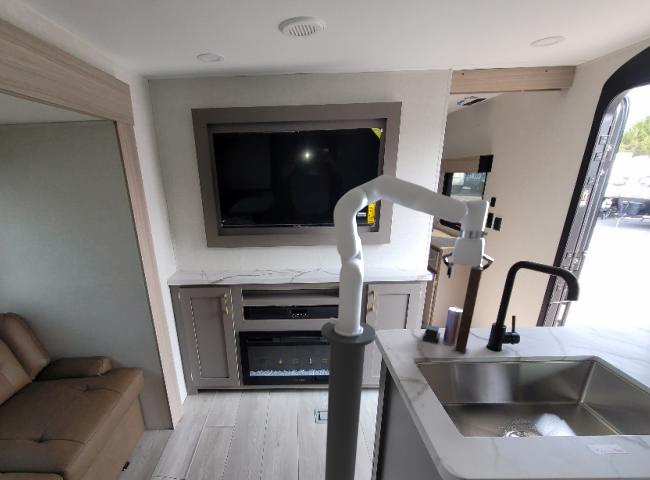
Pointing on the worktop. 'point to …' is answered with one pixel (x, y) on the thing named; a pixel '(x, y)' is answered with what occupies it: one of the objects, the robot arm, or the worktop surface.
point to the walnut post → (468, 308)
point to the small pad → (432, 331)
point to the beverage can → (452, 325)
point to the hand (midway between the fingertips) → (463, 278)
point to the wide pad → (431, 338)
